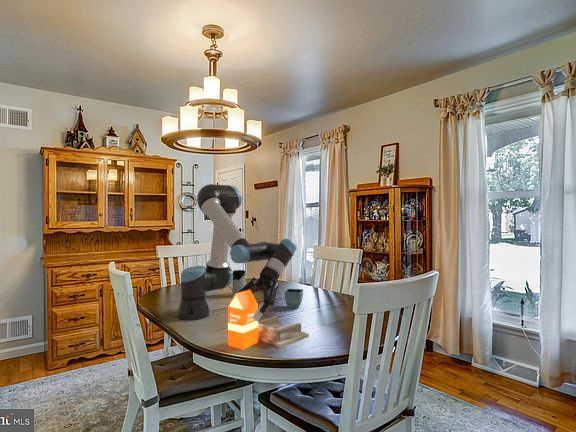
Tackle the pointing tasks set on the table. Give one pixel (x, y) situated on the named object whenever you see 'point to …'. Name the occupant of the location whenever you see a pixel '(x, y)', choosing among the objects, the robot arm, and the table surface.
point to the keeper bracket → (279, 332)
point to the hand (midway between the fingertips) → (243, 315)
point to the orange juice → (242, 320)
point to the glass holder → (238, 281)
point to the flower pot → (293, 297)
